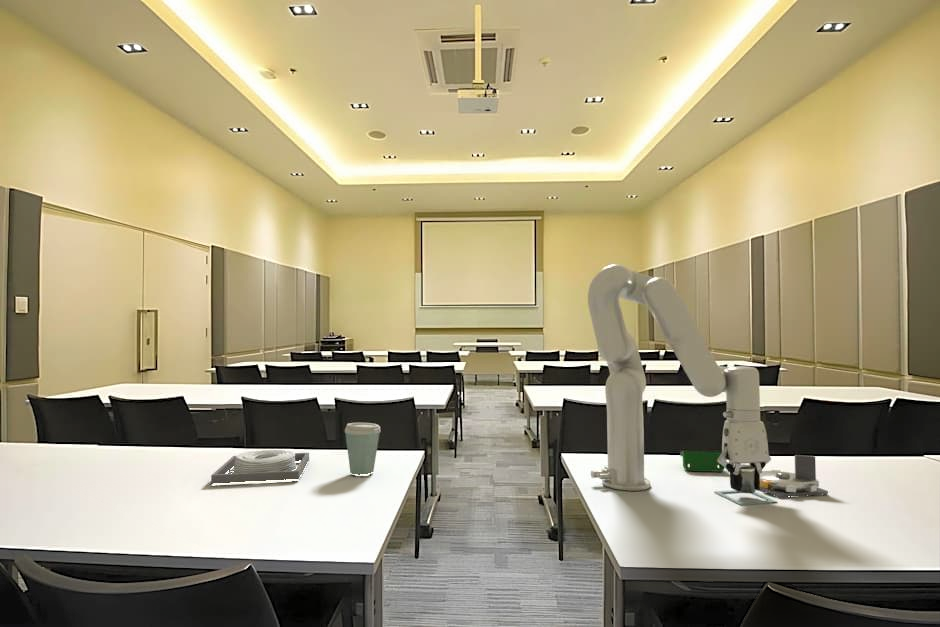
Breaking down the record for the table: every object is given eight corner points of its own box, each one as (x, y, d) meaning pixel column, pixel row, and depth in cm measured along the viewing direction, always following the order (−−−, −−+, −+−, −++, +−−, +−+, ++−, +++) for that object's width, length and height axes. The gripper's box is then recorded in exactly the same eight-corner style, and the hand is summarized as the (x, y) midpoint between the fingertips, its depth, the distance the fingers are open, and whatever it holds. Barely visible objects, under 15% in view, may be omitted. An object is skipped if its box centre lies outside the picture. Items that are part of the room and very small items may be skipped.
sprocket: (827, 495, 132) (827, 464, 132) (755, 489, 137) (754, 459, 137) (808, 477, 147) (807, 449, 147) (743, 473, 152) (743, 446, 152)
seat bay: (740, 505, 128) (740, 504, 128) (714, 492, 138) (714, 491, 138) (777, 502, 130) (777, 501, 130) (749, 490, 140) (749, 489, 140)
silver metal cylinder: (743, 493, 132) (742, 469, 132) (731, 488, 136) (730, 464, 136) (759, 492, 132) (758, 468, 133) (747, 487, 137) (746, 463, 137)
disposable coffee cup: (363, 467, 165) (363, 418, 165) (388, 473, 159) (388, 422, 159) (336, 475, 156) (336, 424, 157) (362, 481, 150) (362, 427, 150)
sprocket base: (779, 498, 134) (778, 493, 134) (741, 482, 147) (741, 478, 147) (827, 494, 136) (827, 490, 136) (786, 479, 150) (786, 475, 150)
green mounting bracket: (713, 483, 162) (722, 455, 164) (719, 483, 156) (729, 454, 158) (673, 465, 165) (683, 438, 167) (678, 465, 159) (688, 437, 161)
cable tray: (211, 486, 146) (211, 475, 146) (233, 465, 169) (233, 455, 169) (298, 481, 150) (298, 471, 150) (309, 461, 173) (309, 452, 173)
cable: (220, 476, 157) (220, 455, 157) (270, 463, 172) (270, 444, 172) (259, 485, 148) (259, 463, 148) (308, 471, 163) (308, 450, 163)
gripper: (722, 419, 130) (724, 495, 129) (784, 416, 133) (786, 491, 132) (703, 414, 137) (705, 486, 137) (762, 412, 140) (764, 482, 139)
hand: (745, 488), depth 134 cm, fingers closed on silver metal cylinder, 4 cm apart
